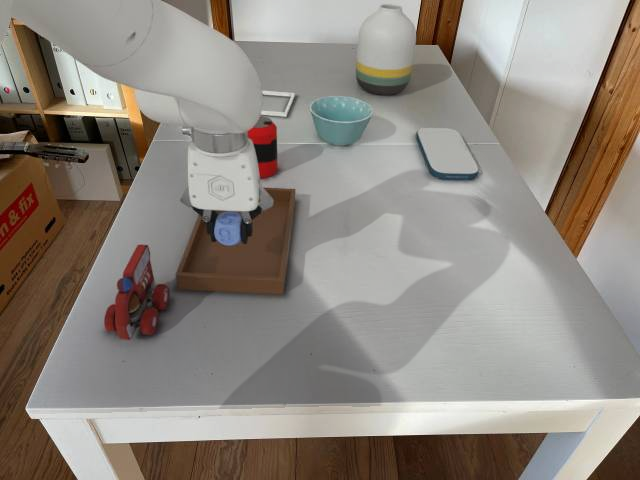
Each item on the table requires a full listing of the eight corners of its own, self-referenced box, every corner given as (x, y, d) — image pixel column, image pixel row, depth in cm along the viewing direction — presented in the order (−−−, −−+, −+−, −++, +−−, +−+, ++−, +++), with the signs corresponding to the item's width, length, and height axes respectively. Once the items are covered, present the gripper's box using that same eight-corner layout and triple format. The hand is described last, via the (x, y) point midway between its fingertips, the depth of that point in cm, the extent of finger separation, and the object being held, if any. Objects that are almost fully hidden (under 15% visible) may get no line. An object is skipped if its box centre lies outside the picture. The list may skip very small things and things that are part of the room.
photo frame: (235, 87, 148) (294, 92, 147) (235, 91, 149) (294, 96, 148) (222, 107, 137) (286, 113, 136) (222, 111, 138) (286, 116, 136)
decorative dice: (245, 231, 82) (244, 212, 79) (240, 247, 79) (238, 226, 76) (221, 229, 82) (219, 209, 80) (215, 244, 79) (213, 224, 77)
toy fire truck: (102, 346, 73) (83, 295, 67) (133, 287, 83) (120, 239, 76) (148, 350, 73) (134, 300, 66) (174, 291, 82) (164, 242, 76)
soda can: (272, 181, 110) (271, 131, 103) (239, 176, 112) (236, 127, 104) (281, 164, 116) (280, 116, 109) (250, 160, 117) (247, 112, 110)
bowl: (366, 125, 134) (369, 96, 129) (373, 153, 122) (376, 122, 117) (308, 124, 134) (309, 94, 129) (309, 152, 121) (310, 120, 116)
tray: (283, 294, 83) (283, 280, 81) (178, 289, 83) (175, 275, 81) (295, 202, 104) (295, 188, 102) (212, 198, 104) (210, 184, 102)
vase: (355, 77, 162) (361, -3, 147) (407, 80, 161) (419, 0, 146) (353, 97, 149) (359, 12, 134) (409, 101, 148) (422, 16, 133)
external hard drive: (413, 134, 131) (414, 127, 130) (456, 134, 132) (457, 128, 131) (431, 181, 113) (432, 173, 112) (480, 181, 113) (483, 174, 112)
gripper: (152, 144, 66) (172, 250, 77) (278, 150, 66) (280, 255, 77) (167, 120, 72) (184, 221, 83) (283, 125, 72) (284, 226, 83)
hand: (230, 236), depth 80 cm, fingers closed on decorative dice, 4 cm apart
